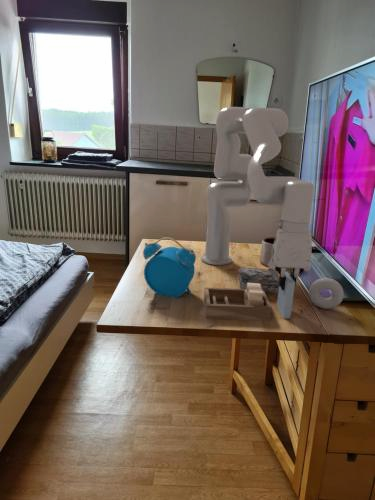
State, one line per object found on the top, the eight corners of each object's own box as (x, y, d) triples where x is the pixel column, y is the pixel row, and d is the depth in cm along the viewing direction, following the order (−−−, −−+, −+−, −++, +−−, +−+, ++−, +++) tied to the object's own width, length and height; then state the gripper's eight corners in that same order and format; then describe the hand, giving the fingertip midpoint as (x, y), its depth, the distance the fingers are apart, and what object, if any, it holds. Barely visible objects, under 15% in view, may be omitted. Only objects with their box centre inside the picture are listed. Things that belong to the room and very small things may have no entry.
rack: (203, 302, 118) (204, 287, 116) (261, 304, 118) (263, 289, 117) (205, 321, 106) (206, 305, 105) (269, 323, 107) (271, 307, 105)
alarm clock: (199, 293, 124) (202, 234, 118) (188, 306, 115) (192, 243, 108) (152, 284, 129) (152, 227, 123) (138, 296, 120) (138, 235, 113)
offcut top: (246, 290, 114) (247, 282, 113) (259, 290, 114) (260, 283, 113) (248, 299, 107) (249, 292, 107) (262, 300, 107) (262, 293, 106)
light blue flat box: (276, 308, 116) (281, 271, 112) (282, 308, 116) (287, 271, 112) (282, 321, 109) (287, 282, 105) (289, 321, 109) (295, 282, 105)
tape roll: (306, 307, 118) (311, 277, 114) (306, 302, 121) (311, 273, 118) (340, 313, 115) (346, 283, 111) (340, 308, 118) (346, 279, 114)
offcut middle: (243, 296, 115) (244, 289, 114) (256, 297, 115) (257, 289, 114) (249, 308, 108) (250, 300, 107) (263, 308, 108) (264, 301, 107)
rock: (231, 291, 125) (238, 264, 121) (235, 281, 133) (243, 256, 129) (277, 307, 122) (287, 280, 118) (279, 296, 130) (288, 270, 126)
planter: (257, 258, 159) (259, 236, 156) (282, 259, 160) (285, 237, 157) (262, 267, 149) (265, 244, 146) (290, 268, 150) (293, 245, 147)
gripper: (268, 228, 100) (261, 293, 106) (328, 231, 101) (318, 294, 106) (263, 222, 107) (256, 282, 113) (318, 224, 108) (309, 284, 113)
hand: (286, 288), depth 110 cm, fingers closed on light blue flat box, 1 cm apart
